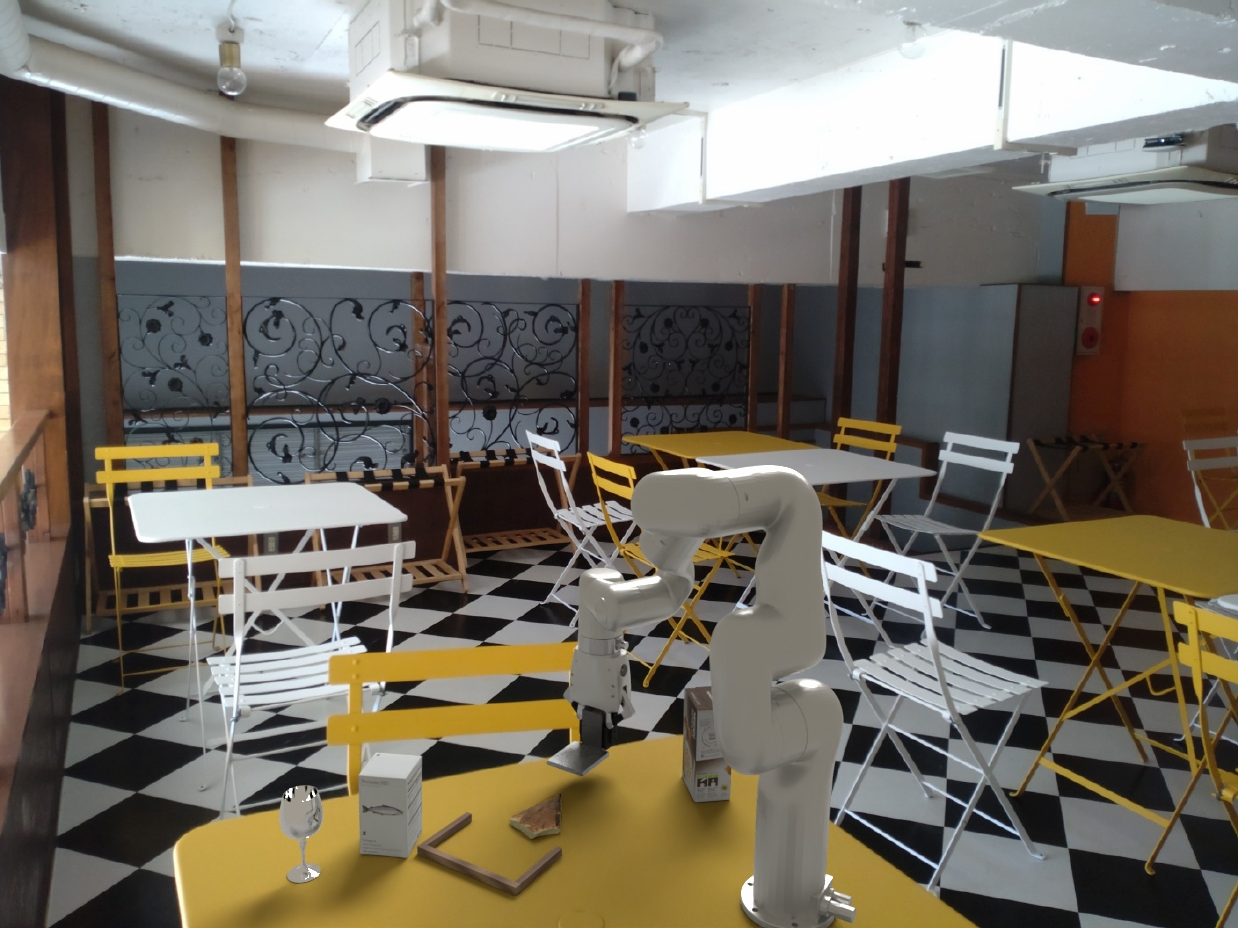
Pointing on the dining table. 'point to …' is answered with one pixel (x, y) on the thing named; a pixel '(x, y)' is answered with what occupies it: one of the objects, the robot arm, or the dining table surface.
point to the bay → (478, 872)
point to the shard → (540, 818)
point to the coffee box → (703, 749)
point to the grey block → (584, 745)
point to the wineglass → (301, 825)
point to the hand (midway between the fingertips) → (597, 741)
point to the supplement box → (390, 804)
